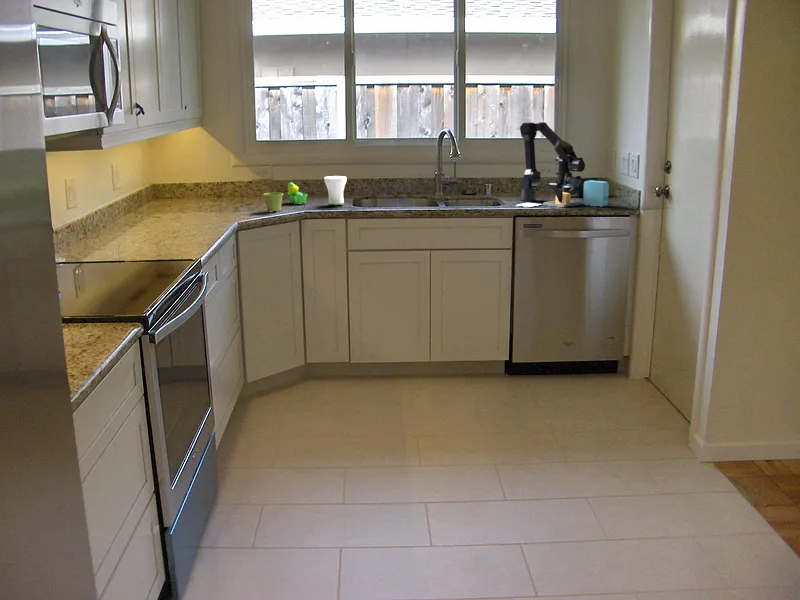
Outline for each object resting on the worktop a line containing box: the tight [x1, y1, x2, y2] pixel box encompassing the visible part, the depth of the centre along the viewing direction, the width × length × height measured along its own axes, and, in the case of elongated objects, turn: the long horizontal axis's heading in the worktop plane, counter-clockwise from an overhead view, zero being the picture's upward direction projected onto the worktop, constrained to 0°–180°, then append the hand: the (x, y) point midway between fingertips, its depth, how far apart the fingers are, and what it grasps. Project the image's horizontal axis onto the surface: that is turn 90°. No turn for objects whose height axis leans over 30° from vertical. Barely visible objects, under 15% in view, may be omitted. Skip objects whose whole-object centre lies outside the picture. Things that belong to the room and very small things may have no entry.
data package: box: [582, 180, 610, 208], centre depth 382 cm, size 12×4×12 cm, turn 38°
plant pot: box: [263, 192, 284, 211], centre depth 376 cm, size 9×9×9 cm
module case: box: [542, 199, 583, 208], centre depth 386 cm, size 12×16×2 cm
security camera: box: [570, 176, 599, 198], centre depth 413 cm, size 7×18×10 cm, turn 104°
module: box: [554, 192, 572, 205], centre depth 385 cm, size 6×4×6 cm, turn 44°
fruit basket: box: [287, 182, 308, 205], centre depth 401 cm, size 11×9×11 cm
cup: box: [323, 175, 348, 207], centre depth 393 cm, size 11×11×14 cm
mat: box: [515, 202, 543, 208], centre depth 385 cm, size 9×10×1 cm
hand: (562, 202), depth 386 cm, fingers closed on module, 4 cm apart
